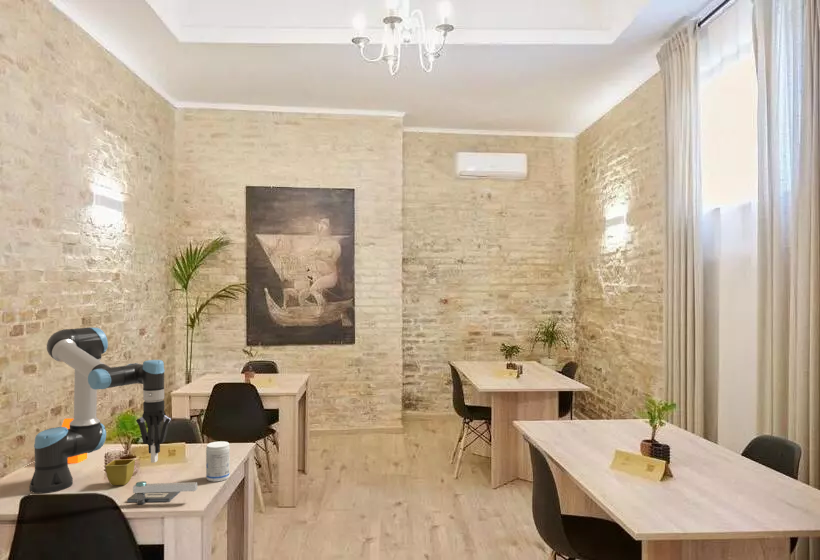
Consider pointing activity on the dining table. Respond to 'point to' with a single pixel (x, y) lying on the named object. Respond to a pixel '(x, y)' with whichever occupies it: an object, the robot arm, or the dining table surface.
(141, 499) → the pivot post
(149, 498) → the label plate
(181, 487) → the swing bar
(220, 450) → the supplement tub
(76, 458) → the orange juice
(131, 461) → the flower pot
